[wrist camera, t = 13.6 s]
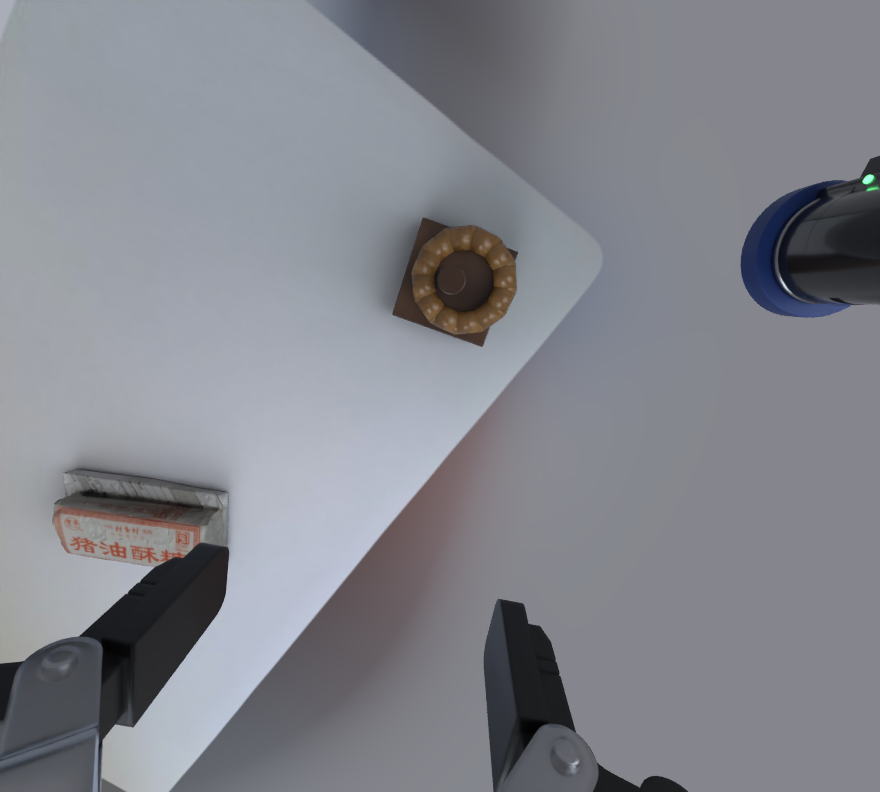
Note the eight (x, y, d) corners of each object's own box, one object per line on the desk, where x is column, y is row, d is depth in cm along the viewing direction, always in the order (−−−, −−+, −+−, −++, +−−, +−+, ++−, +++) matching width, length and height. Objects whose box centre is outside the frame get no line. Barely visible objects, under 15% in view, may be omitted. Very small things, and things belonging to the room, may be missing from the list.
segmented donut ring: (439, 209, 37) (437, 205, 35) (532, 255, 38) (536, 253, 36) (397, 307, 39) (394, 307, 37) (487, 348, 40) (488, 351, 38)
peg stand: (425, 222, 40) (406, 182, 26) (514, 255, 41) (545, 233, 26) (396, 313, 42) (364, 323, 28) (480, 343, 43) (492, 369, 28)
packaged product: (206, 510, 43) (206, 593, 45) (231, 489, 48) (229, 565, 50) (33, 484, 43) (41, 568, 46) (74, 465, 48) (80, 543, 50)
